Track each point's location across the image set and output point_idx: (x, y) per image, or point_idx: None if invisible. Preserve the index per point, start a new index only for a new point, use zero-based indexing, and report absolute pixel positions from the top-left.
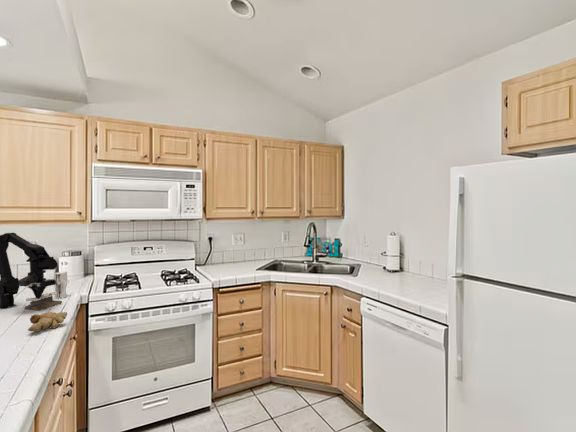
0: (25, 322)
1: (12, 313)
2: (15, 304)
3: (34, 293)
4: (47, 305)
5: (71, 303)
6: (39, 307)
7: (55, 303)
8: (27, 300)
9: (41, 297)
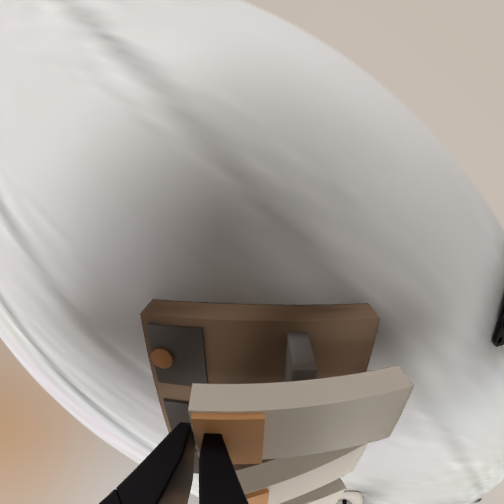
0: (13, 53)
1: (353, 139)
2: (501, 342)
3: (226, 500)
4: (157, 390)
5: (135, 455)
6: (148, 321)
7: None
8: (379, 377)
9: (253, 470)
